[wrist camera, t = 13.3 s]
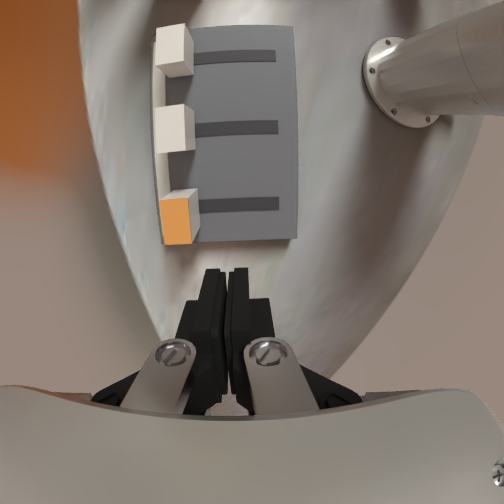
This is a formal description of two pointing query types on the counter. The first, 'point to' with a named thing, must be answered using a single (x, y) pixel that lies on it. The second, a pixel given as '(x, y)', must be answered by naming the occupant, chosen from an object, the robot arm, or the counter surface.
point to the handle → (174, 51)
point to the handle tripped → (180, 216)
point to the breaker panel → (235, 132)
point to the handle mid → (174, 128)
